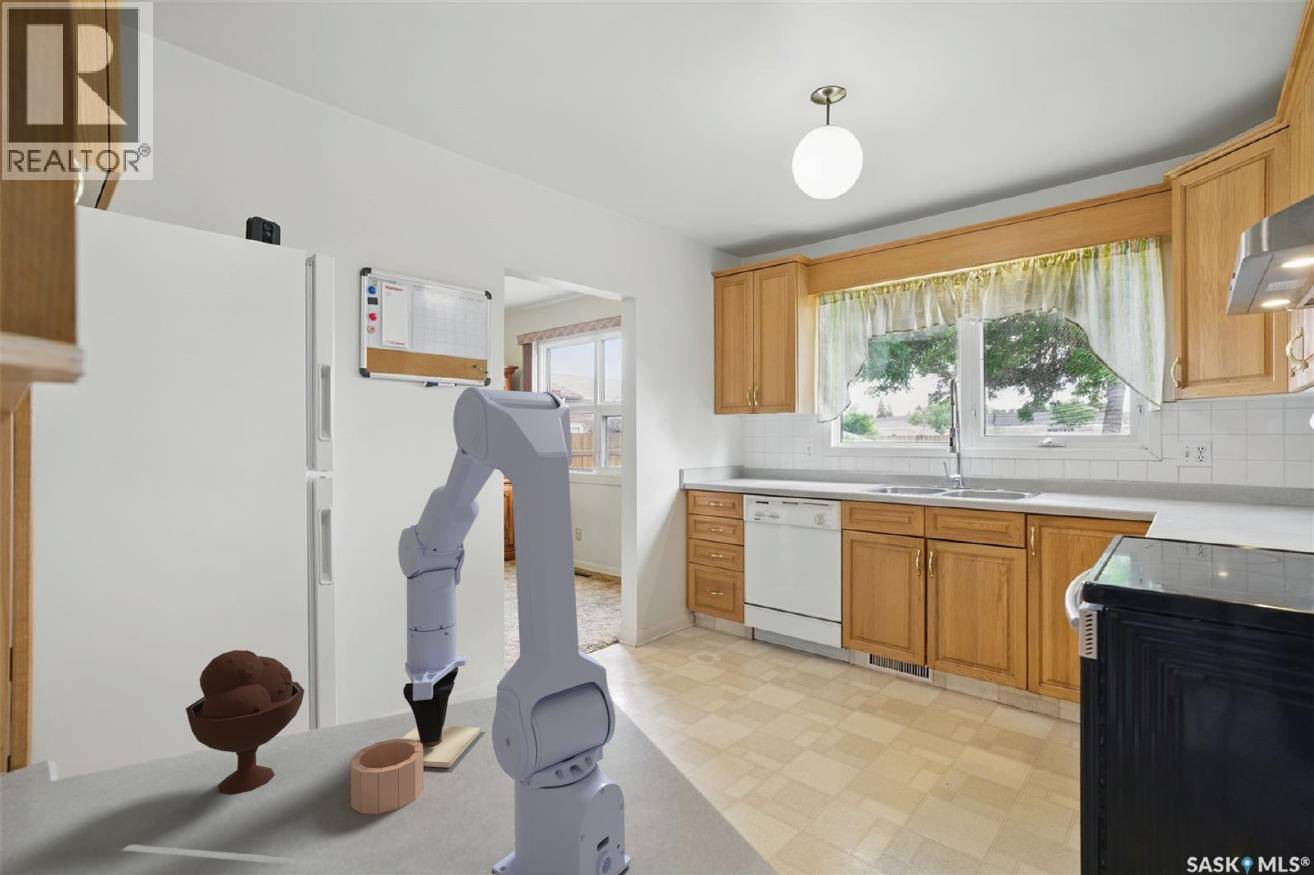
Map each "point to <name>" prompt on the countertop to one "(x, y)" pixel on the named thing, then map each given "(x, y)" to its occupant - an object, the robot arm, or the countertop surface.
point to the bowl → (386, 776)
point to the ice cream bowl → (244, 712)
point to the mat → (452, 767)
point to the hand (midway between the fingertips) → (432, 735)
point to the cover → (445, 745)
